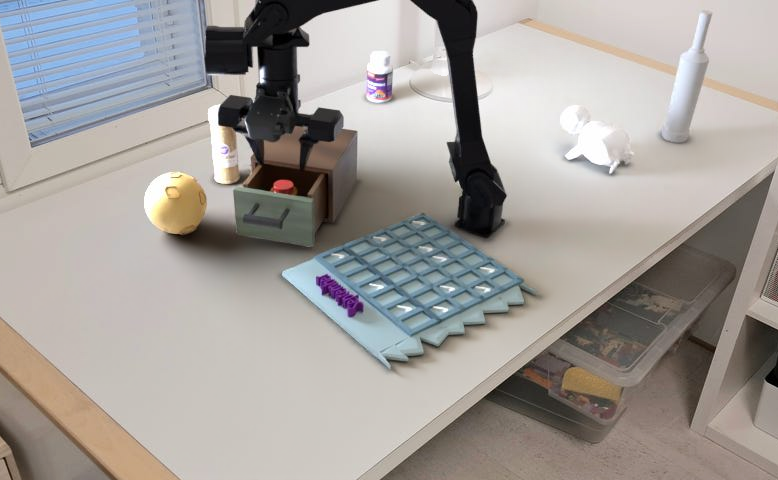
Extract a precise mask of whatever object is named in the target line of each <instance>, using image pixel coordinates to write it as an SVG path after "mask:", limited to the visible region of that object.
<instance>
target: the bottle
mask: <svg viewBox="0 0 778 480" xmlns="http://www.w3.org/2000/svg"><path fill="white" fill-rule="evenodd" d="M712 17H713V12H712V11H710V10H705V9H704V10H701V11H700V13H699V17H698V21H697V25H696V29H695V33H694V38H693V40H692V41H693V42H692V45H691V46H690V47H689V49H688V50H686V51H684V52H683V53H681V54H680V55H679V62H678V66H677V71H676V73H675V74H676V75H675V79H674V84H673V88H672V93H671V97H670V101H669V106H668V111H667V114H666V119H665V123H664V125H663V127H662V131H661V135H662V136H661V137H662V138H663V139H664V140H666V141H668V142H671V143H674V144H675V143H677V144H678V143H681V144H682V143H685V142H686V141H687V140H688V139H689V136H690V134H691V130H690V128H691V124H692V120H693V117H694V114H695V110H696V107H697V103H698V100H699V97H700V93H701V89H702V87H703V83H704V79H705V76H706V73H707V69H708V65H709V62H710V58H709V56H708V55H707V54H706V52H705V48H704V47H705V43H706V38H707V35H708V31H709V27H710V24H711V20H712Z"/></svg>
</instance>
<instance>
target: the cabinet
mask: <svg viewBox="0 0 778 480" xmlns="http://www.w3.org/2000/svg"><path fill="white" fill-rule="evenodd" d="M303 133H304V130H303V127H299V126H295V127H294V130H293V132H292V134H288V133H285V134H284V135H281V137H280V139H279V140H278V141H277V142H268V141H266V140H264V163H263V164H269V165H276V166H282V167H289V168H295V169H300V166H299V163H300V143H299V138H300V137H301V136H302V134H303ZM358 133H359V132H358V130H354V129H348V128H342V130H341V131H340V133H339V134H338V136H337V137H336V139H335V140H334V141H332V142H325V141H319V143H317V144H314V145H313V148H312V151H311V153H310V156H309V159H308V161H307V164H306V167H305V169H304V170H308V171H315V172H321V173H328V206H329V211H328V213H327V214H326V216H325V218H324V219H323V221H322V223H329V224H334V222H335V221H336V219H337V217H338V215H339V214H340V212H341V210H342V208H343V207H344V205H345V203H346V201H347V199H348V198H349V196H350V194H351V193H352V191H353V189H354V188H355V186H356V184H357V183H358ZM257 166H258V162H257V160H256V158H255V155H254V153H253V154H252V155H251V156H250V169H251V170H250V171H251V173H252V172H253V171H254V169H255V168H256V167H257Z"/></svg>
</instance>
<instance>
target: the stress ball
mask: <svg viewBox="0 0 778 480" xmlns="http://www.w3.org/2000/svg"><path fill="white" fill-rule="evenodd" d="M146 189H147V190H146V192H145V194H144V195H145V196H144V209H145V213H146V215H147V217H148V219H149V221H150V222H151V223H152V224H153V225H154V226H155V227H156V228H158V229H159V230H161V231H163V232H164V233H169V234H173V235H174V234H175V235H177V234H178V235H179V234H180V235H181V236H184V235H187V234H190V233H192V232H194V231H196V230H197V229H198V228H197V227H198V226H199V224H201V222H202V221H203V219H204V217H205V215H206V212H207V207H208V199H207V194H206V192H205V190H204V188H203V187H202V185H201V183H199V180H198V179H197V178H195V177H194V176H193V175H188V174H187V173H184V172H181V171H172V172H167V173H164V174H162V175H160V176H158V177H157V178H155V179H153V181H152V182H151V183H150V185H149V186H148V188H146Z"/></svg>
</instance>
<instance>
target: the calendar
mask: <svg viewBox="0 0 778 480" xmlns="http://www.w3.org/2000/svg"><path fill="white" fill-rule="evenodd" d="M281 274H282V277H283V278H284V279H285V280H286V281H288V282H289V283H290V284H291V285H292V286H293V287H295V289H297V290H298V291H299V292H300V293H301V294H302V295H303V296H305V297H306V298H307V299H308V300H309V301H310V302H312V304H314V305H315V306H316V307H318V308H319V309H320V310H321V311H322V312H323V313H324V314H325V315H327V316H328V317H329V318H330V319H331V320H332V321H333V322H334V323H336V324H337V325H338V326H339V327H340V328H342V330H344V331H345V332H346V333H347V334H348V335H350V337H352V338H353V339H354V340H355V341H357V343H359V344H360V345H361V346H362V347H363V348H364V349H366V350H367V351H368V352H369V353H370V354H371V355H372V356H373V357H375V358H376V359H378V360H379V361H380V362H381V363H382V364H383V365H385V366H386V367H387V368H388V369H389V370H391V367H392V366H391V364H390V363H389V361H388V360H390V361H391V360H393V361H400V362H409V360H410V359H409V357H411V356H412V357H413V356H421V355H424V353H425V350H424V347H423V344H422V342H425V343H428V344H430V345H433V346H435V347H439V346H441V344H442V343H443V342H444V341H445V339H446V338H447V337H448V336H451V335H452V336H453V335H464V334H465V333H466V329H465V325H468V326H469V325H485V324H486V318H485V314H491V313H492V314H493V313H495V314H496V313H508V312H509V311H510V307H509V306H511V305H513V306H514V305H524V304H525V298H524V297H523V293H522V290H524V291H526V292H529V293H531V294H533V295H535V296H538V295H539V293H538V291H536V290H534V288H532V287H531V286H529V285H527V284H526V283H525V279H524V278H523V277H521V276H520V275H518V274H517V273H515V272H514V271H512V270H510V269H509V268H508V267H506V266H505V265H503V264H502V263H500V262H498V261H497V260H495V259H494V258H493V257H491V256H490V255H488V254H486V253H485V252H483V251H482V250H481V249H479V248H477V247H476V246H474V244H471V243H470V242H469V241H467V240H465V239H464V238H463V237H461V236H460V235H458V234H457V233H455V232H453V231H452V230H451V229H449V228H448V227H446V226H445V225H443V224H441V223H439V222H438V221H437V220H436V219H434V218H432V217H431V216H429V215H428V214H426V213H425V212H422V213H419V214H416V215H414V216H410V217H409V218H407V219H403V220H401V221H399V222H396V223H394V224H392V225H389V226H386V227H383V228H381V229H379V230H377V231H374V232H371V233H369V234H367V235H364V236H361V237H359V238H357V239H354V240H350V241H349V242H346V243H343V244H341V245H339V246H336V247H334V248H332V249H329V250H326V251H323V252H321V253H319V254H316V255H314V256H313V258H312V259H310V260H307V261H304V262H302V263H300V264H297V265H295V266H292V267H290V268H287V269H284V270H282V271H281ZM521 289H522V290H521Z"/></svg>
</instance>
